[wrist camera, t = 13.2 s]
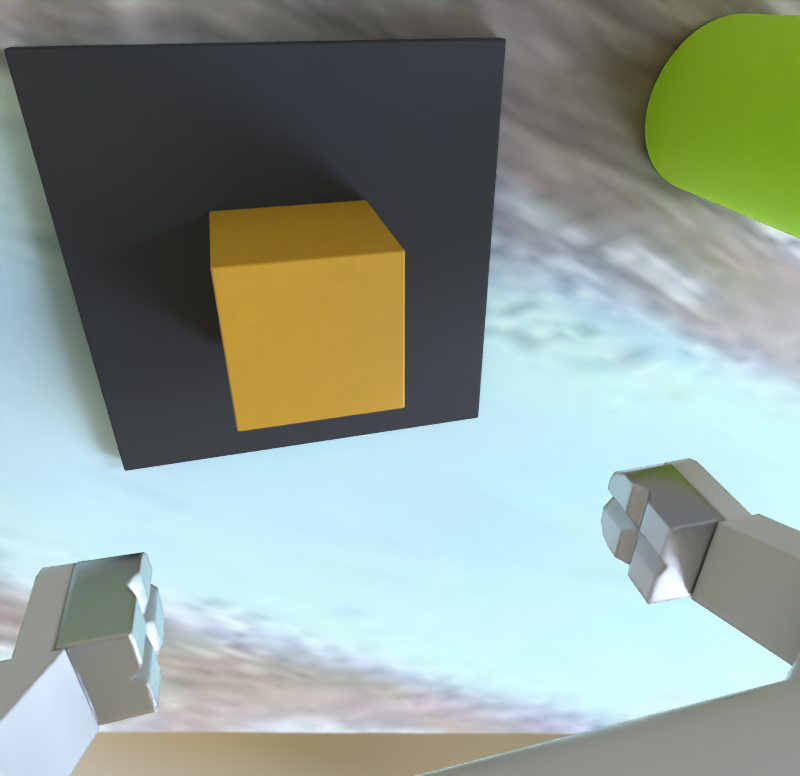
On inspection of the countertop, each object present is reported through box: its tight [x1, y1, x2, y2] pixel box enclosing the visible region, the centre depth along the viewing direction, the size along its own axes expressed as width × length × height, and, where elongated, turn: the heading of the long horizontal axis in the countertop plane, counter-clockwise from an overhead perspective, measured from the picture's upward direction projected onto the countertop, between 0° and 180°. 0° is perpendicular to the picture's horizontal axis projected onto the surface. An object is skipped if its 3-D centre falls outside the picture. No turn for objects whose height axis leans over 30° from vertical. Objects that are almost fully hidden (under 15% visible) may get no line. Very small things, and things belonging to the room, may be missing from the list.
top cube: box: [209, 200, 405, 431], centre depth 20 cm, size 5×5×5 cm
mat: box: [4, 38, 506, 471], centre depth 22 cm, size 14×14×1 cm
